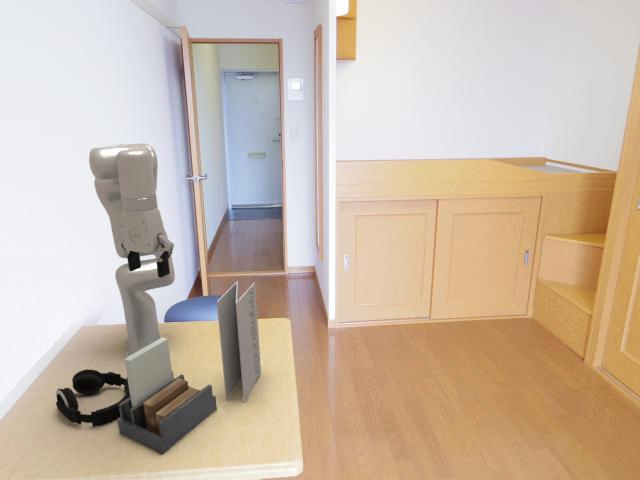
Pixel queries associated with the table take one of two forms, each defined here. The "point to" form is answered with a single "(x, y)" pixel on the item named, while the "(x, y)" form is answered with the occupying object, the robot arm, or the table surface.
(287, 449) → the table surface
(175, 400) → the offcut short
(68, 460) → the table surface
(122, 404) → the rack
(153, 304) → the robot arm
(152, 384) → the pale grey panel
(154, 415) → the offcut tall
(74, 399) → the headphones
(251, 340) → the brochure
